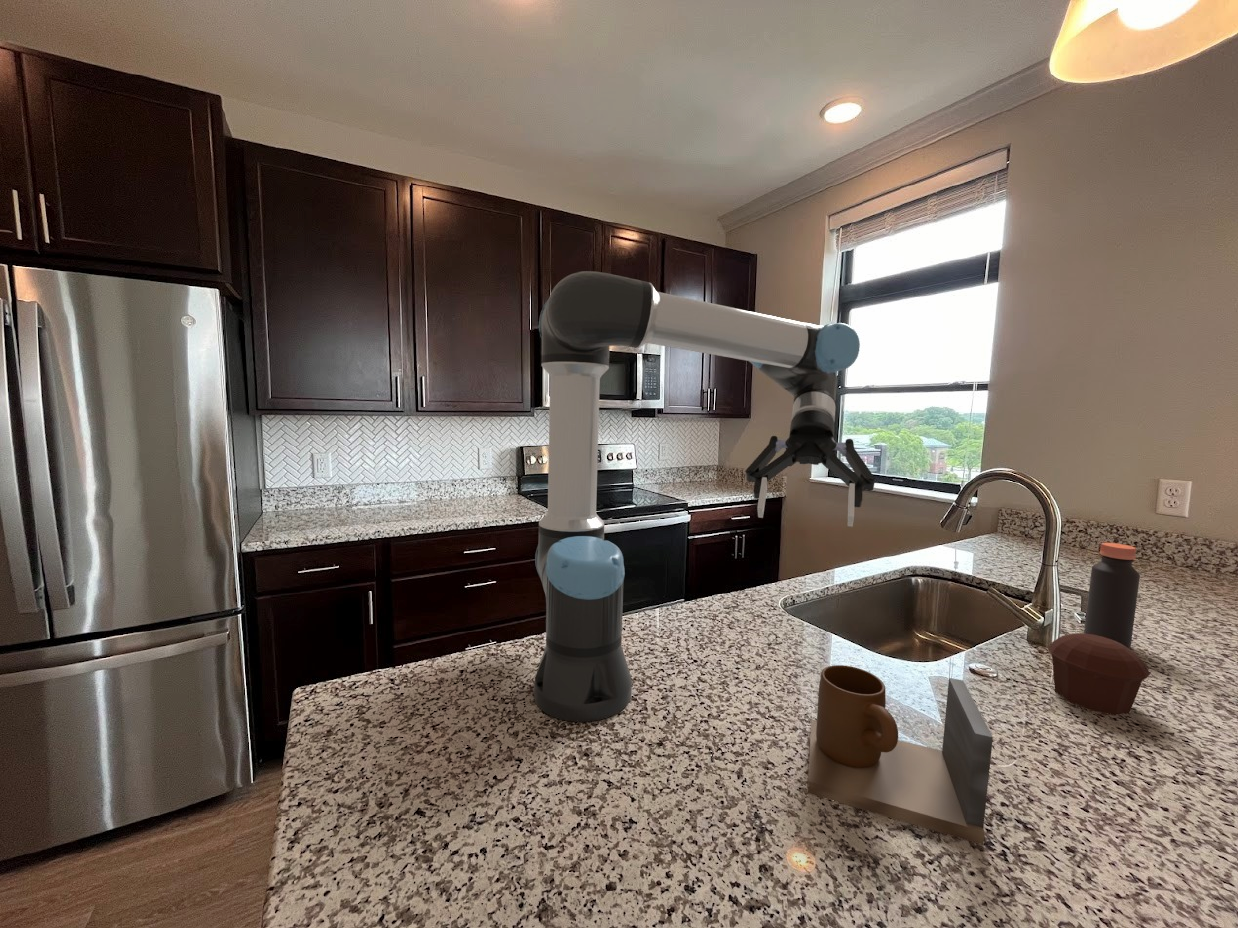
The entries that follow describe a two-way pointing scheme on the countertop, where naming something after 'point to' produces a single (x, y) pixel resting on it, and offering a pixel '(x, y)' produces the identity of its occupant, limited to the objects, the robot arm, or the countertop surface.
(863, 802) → the shelf
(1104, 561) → the bottle
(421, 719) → the countertop surface
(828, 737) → the mug
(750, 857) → the countertop surface
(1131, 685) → the muffin
